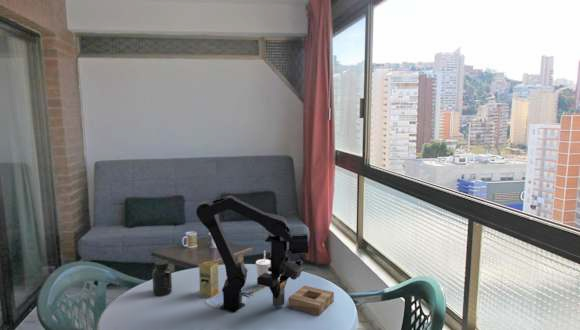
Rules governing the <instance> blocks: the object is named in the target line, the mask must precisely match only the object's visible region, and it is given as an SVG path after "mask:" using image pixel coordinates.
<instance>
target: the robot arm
mask: <svg viewBox="0 0 580 330" xmlns="http://www.w3.org/2000/svg"><path fill="white" fill-rule="evenodd" d="M228 210H231V211H232V212H234V213H236V214H238V215H240V216H242V217H244V218H247V219H248V220H251V221H253V222H255V223H257V224H259V225H261V226H262V227H263V228H264V229H265V230H266V231H268V235H267V236H266V237H265V238H264V242H266V243H270V244H269V245H270V255H268V256H267V259H268V260H270V267H269V268H268V271H270V274H268V273H263V274H262V275H260V276H259V277H258V276H257V278H256V284H257V285H258V286H259V285H263V286H267V287H268V288H269V290H270V292H271V294H272V297H273V296H274V298H276V299H277V298H278V292H279V285H280V284H281V283H282V282H283V281H285V285H284V289H285V288H286V285H287V283H288V279H291V280H294V281H295V280H297V278H300V276H301V274H302V272H303V271H304V270H305V269H304V262H303V260H301V259H299V260H297V261H295V260H291V257H290V255H289V254H288V252H289V251H290V253H291V254H292V255H293V254H295V255H308V254H309V241H308V240H309V238H308V237H309V235H308V233H296V234H295V233H293V231H292V229H290V227H289V226H288V222H287V219H286V218H285V217H284V216H282V215H278V214H274V213H269V212H265V211H263V210H261V209H259V208H256V207H255V206H253V205H251V204H250V203H249V204H248V203H247V202H245V201H243V200H241V199H238V198H237V197H235V196H234V195H228V196H225V197H222V198H221V197H220V198H217V199H215V200H210V199H206V200H204V201H202V202H201V203H200V204H199V205H198V206H197V208H196V211H195V213H196V217H197V218H198V219H199V221H200V222H201V224H202V225H203V226H204V227H205V228H206V229H207V230H208V232H209V234H210V237H211V238H212V240H213V243H214V245H215V247H216V249H217V251H218V254H219V257H220V258H221V260H222V262H223V264H224V267H225V272H226V279H225V281H224V284H223V286H222V289H221V292H222V296H223V297H222V299H223V303H222V305H220V306H219V309H220V310H221V309H222V310H224V311H227V312H231V313H236V312H238V311H239V310H240V309H242V308H243V307H244V306H246V304H245V303H244V302H242V301H243V299H242V297H243V295H242V289H243V288H244V287H245V284H246V281H247V276H248V270H249V269H247V267H246V266H245V263H244V261H243V260H241V261H239V260H238V259H237V258H236V255H235V254H234V251H233V249H232V248H231V245H230V243H229V240H228V238H227V237H226V233H225V232H224V230H223V227H222V225H221V223H220V216H219V215H220V214H221V213H223V212H225V211H228ZM280 280H283V281H280ZM267 287H266V288H267Z"/></svg>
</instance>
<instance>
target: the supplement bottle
mask: <svg viewBox="0 0 580 330" xmlns="http://www.w3.org/2000/svg"><path fill="white" fill-rule="evenodd" d="M172 279H173V278H172V269H171V268H170V267H169V260H165V259H163V260H162V259H161V260H157V261H155V263H154V270H152V293H153V294H154V296H156V297H164V296H168V295H170V294H171V293H172V290H173V285H172V284H173V283H172V282H173V281H172Z"/></svg>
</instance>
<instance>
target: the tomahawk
mask: <svg viewBox="0 0 580 330" xmlns="http://www.w3.org/2000/svg"><path fill="white" fill-rule="evenodd" d="M264 288H266V287H265V286H257V287H256V288H254V289H252V290H250V291H248V292H245V291H243V292H242V296H243V297H246V298H249V299H251V297H253V295H254V294H255V293H256V292H257V291H260V290H262V289H264Z"/></svg>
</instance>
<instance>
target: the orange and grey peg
mask: <svg viewBox="0 0 580 330" xmlns="http://www.w3.org/2000/svg"><path fill="white" fill-rule="evenodd" d="M280 281H283V280H280ZM284 285H285V281H283V282H282V283H281V284H280V285H279V292H278V298H277V299H276V298H274V296H273V295H272V306H273V307H277V308H282V307H283V306H284V305H285V288H284ZM285 286H286V285H285Z"/></svg>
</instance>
